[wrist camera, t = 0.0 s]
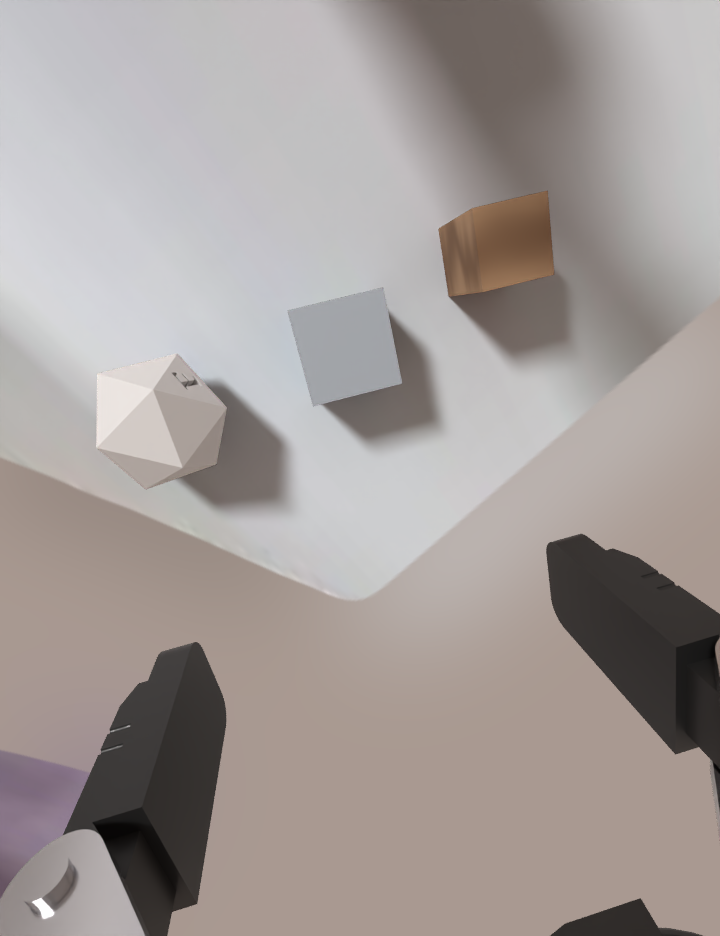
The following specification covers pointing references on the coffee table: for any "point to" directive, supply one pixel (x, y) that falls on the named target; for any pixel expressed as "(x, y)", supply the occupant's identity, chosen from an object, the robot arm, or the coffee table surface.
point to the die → (158, 420)
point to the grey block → (346, 346)
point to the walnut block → (498, 245)
